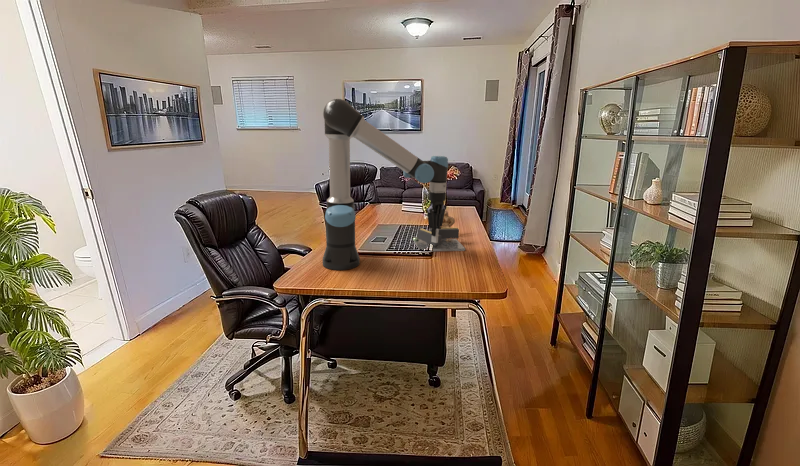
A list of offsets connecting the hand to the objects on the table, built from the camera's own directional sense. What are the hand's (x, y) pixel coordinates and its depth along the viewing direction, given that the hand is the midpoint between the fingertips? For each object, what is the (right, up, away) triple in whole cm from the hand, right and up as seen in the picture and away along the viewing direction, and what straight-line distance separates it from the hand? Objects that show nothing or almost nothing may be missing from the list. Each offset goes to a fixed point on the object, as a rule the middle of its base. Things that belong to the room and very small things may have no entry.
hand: (434, 242), depth 173 cm
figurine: (+7, +3, +28) cm, 29 cm away
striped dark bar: (-2, -1, +7) cm, 7 cm away
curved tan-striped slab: (+6, +1, +14) cm, 15 cm away
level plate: (+3, -2, +9) cm, 9 cm away
